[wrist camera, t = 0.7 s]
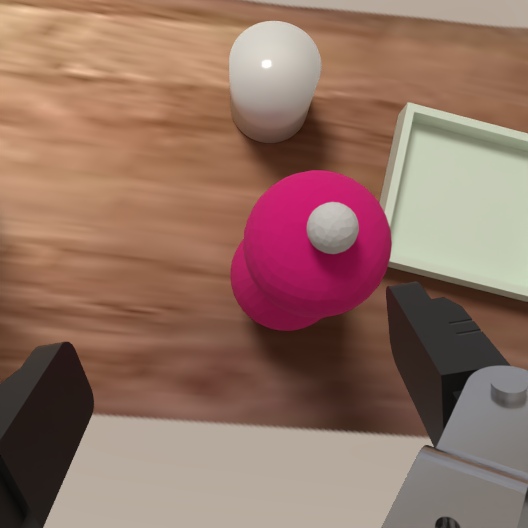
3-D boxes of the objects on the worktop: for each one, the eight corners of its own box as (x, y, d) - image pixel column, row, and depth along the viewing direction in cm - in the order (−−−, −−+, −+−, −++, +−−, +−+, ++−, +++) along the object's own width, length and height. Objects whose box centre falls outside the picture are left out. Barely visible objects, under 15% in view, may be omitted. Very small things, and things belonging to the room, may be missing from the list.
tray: (366, 261, 36) (375, 257, 34) (398, 114, 38) (408, 102, 36) (532, 303, 36) (550, 301, 34) (556, 155, 38) (574, 146, 36)
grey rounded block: (221, 132, 37) (219, 93, 31) (240, 61, 37) (242, 10, 32) (297, 151, 37) (309, 117, 31) (315, 80, 38) (330, 34, 32)
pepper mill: (257, 216, 36) (286, 80, 16) (344, 259, 36) (479, 176, 16) (213, 303, 35) (186, 271, 15) (302, 347, 35) (393, 374, 15)
